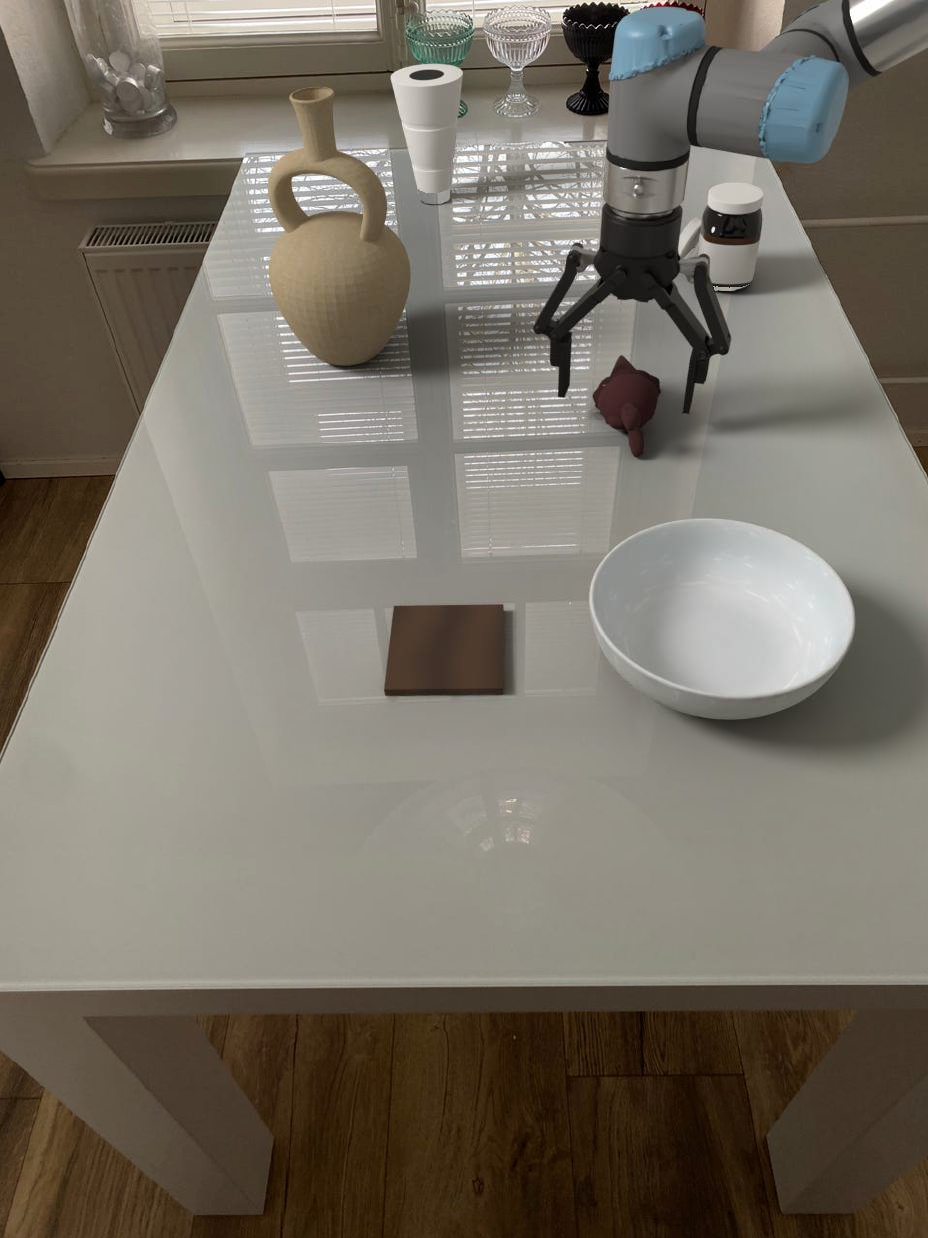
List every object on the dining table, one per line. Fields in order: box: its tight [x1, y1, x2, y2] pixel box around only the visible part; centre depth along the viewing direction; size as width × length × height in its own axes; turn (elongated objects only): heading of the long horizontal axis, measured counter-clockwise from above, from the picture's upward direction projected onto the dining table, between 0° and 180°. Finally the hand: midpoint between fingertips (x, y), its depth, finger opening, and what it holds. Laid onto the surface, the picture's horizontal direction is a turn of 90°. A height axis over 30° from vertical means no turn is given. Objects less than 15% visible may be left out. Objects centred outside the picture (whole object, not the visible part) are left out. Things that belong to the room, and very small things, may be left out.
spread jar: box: [678, 181, 765, 288], centre depth 126 cm, size 12×11×12 cm
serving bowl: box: [588, 517, 857, 720], centre depth 80 cm, size 21×21×7 cm
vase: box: [267, 86, 412, 367], centre depth 110 cm, size 17×17×30 cm
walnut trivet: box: [383, 603, 505, 696], centre depth 84 cm, size 10×10×1 cm
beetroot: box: [592, 354, 662, 458], centre depth 105 cm, size 7×7×15 cm
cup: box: [390, 63, 464, 193], centre depth 147 cm, size 11×11×18 cm
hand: (624, 399), depth 105 cm, fingers open, 13 cm apart
